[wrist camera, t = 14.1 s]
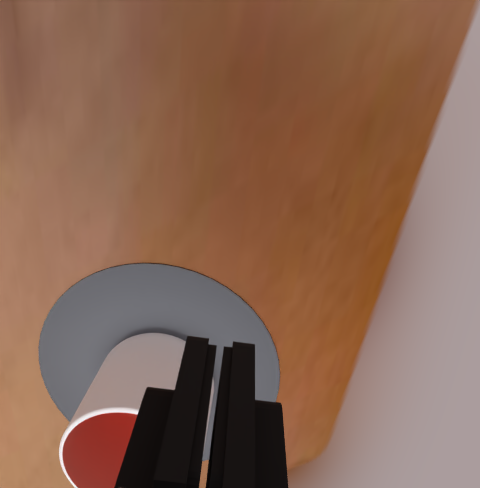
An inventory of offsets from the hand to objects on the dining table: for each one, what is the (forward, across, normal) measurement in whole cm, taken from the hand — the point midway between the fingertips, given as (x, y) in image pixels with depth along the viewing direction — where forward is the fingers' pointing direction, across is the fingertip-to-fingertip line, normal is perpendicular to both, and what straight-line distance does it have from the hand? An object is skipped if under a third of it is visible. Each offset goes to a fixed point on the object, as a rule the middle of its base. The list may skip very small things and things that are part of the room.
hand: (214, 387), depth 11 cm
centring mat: (+24, +5, +20) cm, 32 cm away
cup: (+24, +5, +20) cm, 31 cm away
